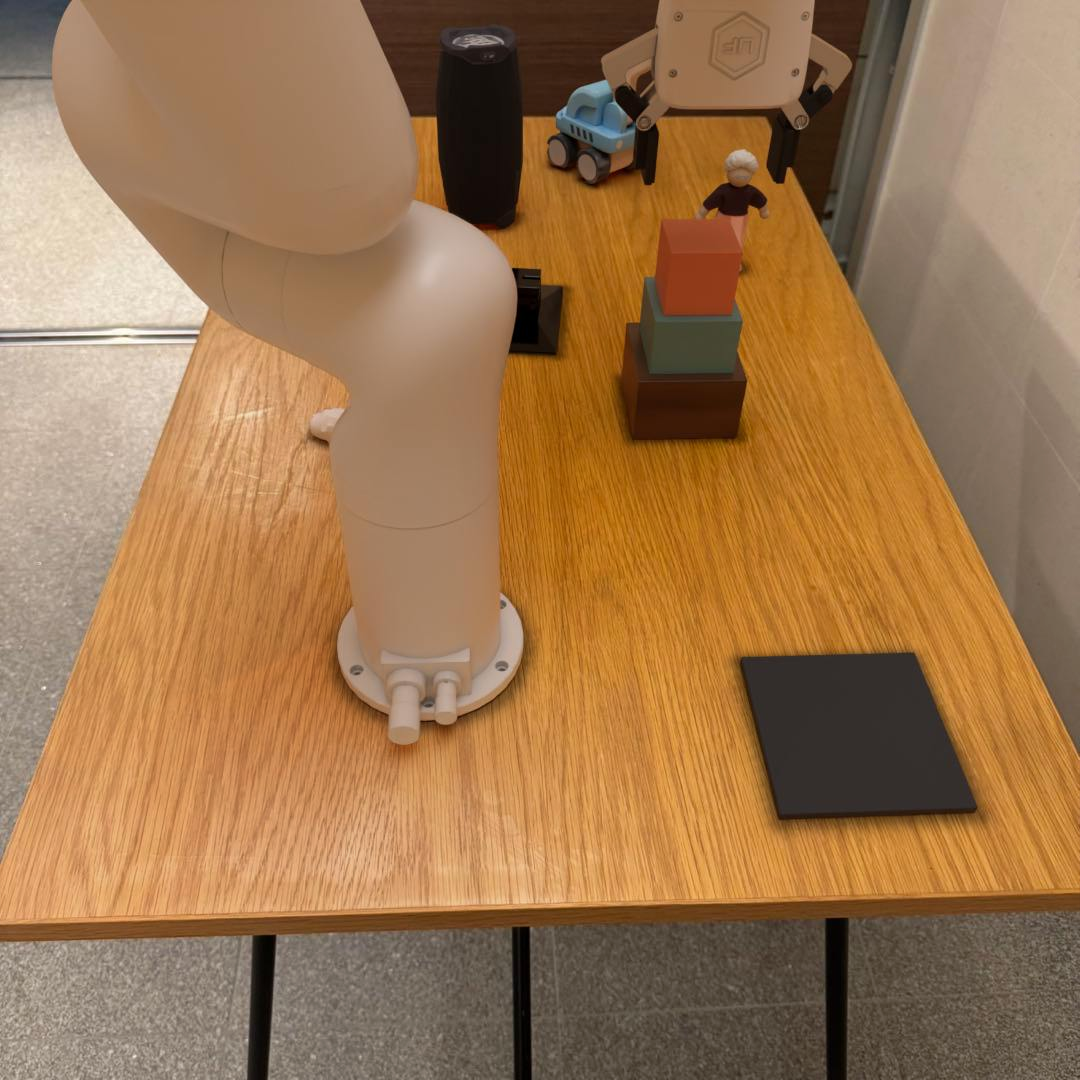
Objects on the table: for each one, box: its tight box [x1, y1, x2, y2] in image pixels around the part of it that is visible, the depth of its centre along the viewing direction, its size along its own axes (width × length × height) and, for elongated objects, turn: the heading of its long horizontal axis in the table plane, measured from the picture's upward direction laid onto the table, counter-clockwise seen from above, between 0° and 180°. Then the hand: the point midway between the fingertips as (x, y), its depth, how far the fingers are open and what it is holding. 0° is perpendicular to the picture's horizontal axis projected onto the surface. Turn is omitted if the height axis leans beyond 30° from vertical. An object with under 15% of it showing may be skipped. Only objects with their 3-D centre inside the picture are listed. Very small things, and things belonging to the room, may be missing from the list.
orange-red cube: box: [654, 218, 744, 316], centre depth 79 cm, size 6×6×6 cm
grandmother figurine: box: [694, 148, 771, 273], centre depth 103 cm, size 8×4×13 cm, turn 106°
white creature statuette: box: [309, 397, 350, 444], centre depth 82 cm, size 10×9×12 cm
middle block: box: [639, 276, 744, 374], centre depth 83 cm, size 7×7×5 cm
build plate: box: [508, 267, 564, 356], centre depth 97 cm, size 12×7×5 cm, turn 176°
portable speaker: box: [435, 23, 524, 229], centre depth 108 cm, size 9×9×20 cm
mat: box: [739, 651, 979, 820], centre depth 64 cm, size 12×12×1 cm
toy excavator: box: [546, 58, 651, 185], centre depth 117 cm, size 9×17×17 cm, turn 42°
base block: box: [620, 321, 748, 440], centre depth 87 cm, size 9×9×6 cm
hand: (710, 176), depth 74 cm, fingers open, 9 cm apart
